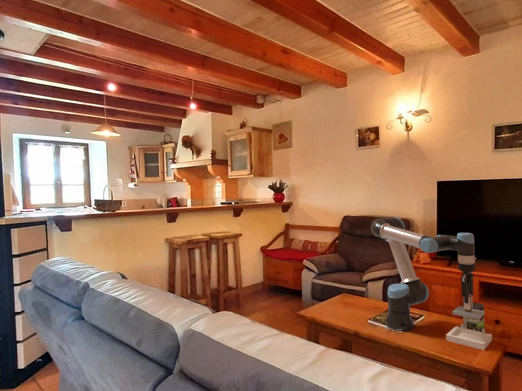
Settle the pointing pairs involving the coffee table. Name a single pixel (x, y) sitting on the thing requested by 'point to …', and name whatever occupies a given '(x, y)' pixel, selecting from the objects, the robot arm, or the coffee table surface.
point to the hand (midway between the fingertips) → (468, 308)
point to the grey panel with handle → (468, 311)
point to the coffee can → (474, 323)
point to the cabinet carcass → (469, 337)
